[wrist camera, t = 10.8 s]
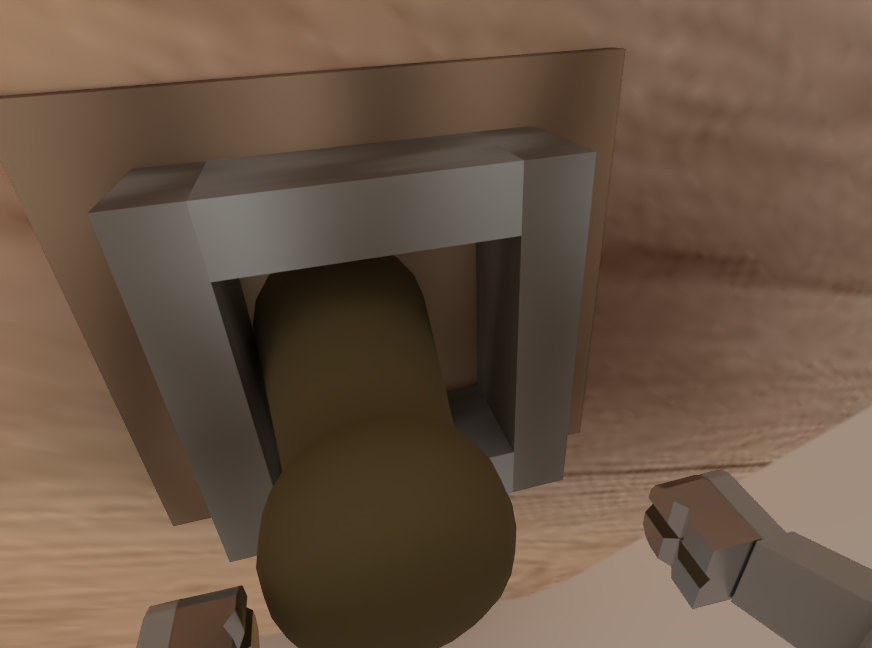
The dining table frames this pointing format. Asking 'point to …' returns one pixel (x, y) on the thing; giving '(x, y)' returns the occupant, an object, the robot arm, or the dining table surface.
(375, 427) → the cork
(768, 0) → the dining table surface
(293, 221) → the socket block
